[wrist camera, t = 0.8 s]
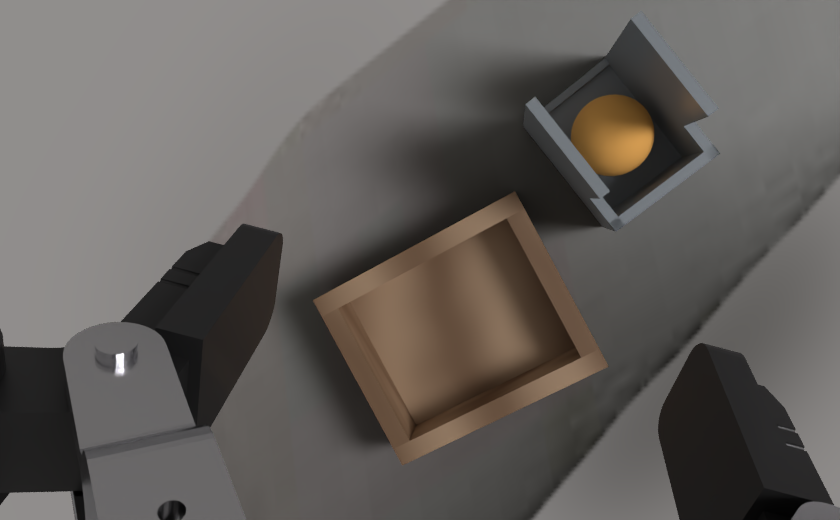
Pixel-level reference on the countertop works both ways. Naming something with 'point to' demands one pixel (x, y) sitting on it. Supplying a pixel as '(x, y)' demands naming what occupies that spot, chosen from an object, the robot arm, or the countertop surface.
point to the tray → (460, 330)
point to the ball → (613, 134)
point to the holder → (665, 102)
